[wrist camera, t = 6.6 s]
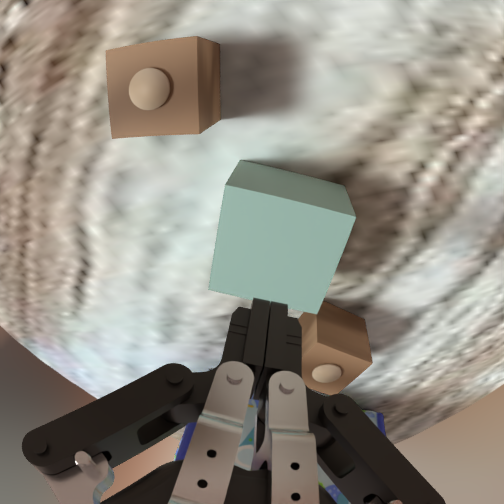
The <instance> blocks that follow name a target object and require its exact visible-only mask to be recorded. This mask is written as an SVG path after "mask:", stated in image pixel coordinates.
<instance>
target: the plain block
mask: <svg viewBox="0 0 504 504" xmlns="http://www.w3.org/2000/svg"><path fill="white" fill-rule="evenodd" d="M355 219H356V215H355V212H354V210H353V207H352V204H351V202H350V199H349V196H348V194H347V191H346V189H345V186H343V185H340V184H336V183H333V182H329V181H325V180H322V179H318V178H314V177H310V176H306V175H302V174H298V173H294V172H290V171H286V170H282V169H278V168H274V167H269V166H265V165H261V164H256V163H252V162H247V161H243V160H240V161H239V163H238V164H237V166H236V168H235V169H234V171H233V173H232V174H231V176H230V178H229V179H228V181H227V183H226V184H225V189H224V195H223V200H222V206H221V212H220V218H219V224H218V230H217V237H216V243H215V249H214V256H213V262H212V269H211V275H210V282H209V289H208V290H212V291H216V292H220V293H224V294H228V295H232V296H237V297H241V298H245V299H249V300H253V297H254V298H259V299H264V300H269V301H270V302H271V301H274V302H279V303H284V304H288V308H289V309H294V310H299V311H303V312H308V313H313V314H317V313H318V311H319V309H320V306H321V304H322V302H323V299H324V297H325V295H326V292H327V290H328V287H329V285H330V283H331V280H332V278H333V275H334V273H335V271H336V268H337V266H338V263H339V261H340V258H341V256H342V253H343V250H344V248H345V245H346V243H347V240H348V238H349V235H350V232H351V230H352V227H353V224H354V222H355Z"/></svg>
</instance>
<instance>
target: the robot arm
mask: <svg viewBox="0 0 504 504" xmlns="http://www.w3.org/2000/svg"><path fill="white" fill-rule="evenodd" d="M253 393H254V394H253ZM252 395H253V399H254V400H259V403H258V410H257V412H256V415H255V428H254V452H253V460H252V464H251V470H250V471H249V470H245V469H243V468H240V467H238V466H235V465H234V462H235V459H236V455H237V451H238V447H239V443H240V439H241V435H242V431H243V423H244V419H245V415H246V411H247V407H248V403H249V399H251V398H252ZM194 422H197V424H196V427H195V430H194V432H193V435H192V438H191V441H190V444H189V447H188V450H187V452H186V455H185V458H184V459H182V460H176V461H172V462H169V463H166V464H164V465H161V466H159V467H158V468H156V469H155V470H153V471H152V472H150V473H149V474H147V475H146V476H144V477H142V478H141V479H139V480H138V481H136V482H134V483H133V484H131V485H130V486H128V487H126V488H125V489H123V490H121V491H120V492H118V493H116V494H115V495H113V496H111V497H109V498H108V499H106V500H104V501H102V502H101V503H100V499H101V496H102V494H103V493H104V492H105V491H106V490H107V489H108V488H110V487H111V486H112V484H113V482H114V472H113V469H112V468H114V467H116V466H118V465H120V464H121V463H123V462H125V461H127V460H128V459H130V458H132V457H134V456H136V455H138V454H139V453H141V452H143V451H144V450H146V449H148V448H150V447H151V446H153V445H155V444H156V443H158V442H160V441H161V440H163V439H165V438H166V437H168V436H170V435H171V434H173V433H175V432H176V431H178V430H179V429H181V428H183V427H184V426H186V425H187V424H188V423H194ZM22 451H23V454H24V456H25V457H26V459H27V460H28V461H29V462H30V463H31V464H33V465H34V467H35V468H36V469H37V470H38V471H39V472H40V473H41V474H43V475H44V477H45V479H46V480H47V482H48V484H49V486H50V488H51V489H52V491H53V493H54V494H55V496H56V498H57V499H58V501H59V502H60V504H337V503H336V502H335V500H334V499H333V498H332V497H331V495H330V494H329V493H328V492H327V491H326V490H325V489H324V488H323V487H322V486H321V485H319V484H318V469H317V464H318V465H319V466H320V467H321V469H322V470H323V471H324V472H325V473H326V475H327V476H328V477H329V478H330V479H331V481H332V482H333V483H334V484H335V485H336V487H337V488H338V489H339V490H340V491H341V493H342V494H343V495H344V496H345V497H346V498H347V500H348V501H349V502H350V503H351V504H446V503H445V501H444V499H443V498H442V497H441V495H439V493H438V492H437V491H436V490H435V489H434V488H433V487H432V486H431V485H430V484H429V483H428V482H427V481H426V479H425V478H424V477H423V476H422V475H421V474H420V473H419V472H418V471H417V470H416V469H415V468H414V467H413V466H412V464H411V463H410V462H409V461H408V460H407V459H406V458H405V457H404V456H403V455H402V454H401V453H400V452H399V450H398V449H397V448H396V447H395V446H394V445H393V444H392V443H391V442H390V440H389V439H388V438H387V437H386V436H385V435H384V434H383V433H382V432H381V431H380V430H379V428H378V427H377V426H376V425H375V424H374V423H373V422H372V421H371V420H370V418H369V417H368V416H367V415H366V414H365V413H364V412H363V411H362V410H361V408H360V407H359V406H358V405H357V404H356V403H355V402H354V401H353V400H352V399H351V398H350V397H348V396H346V395H343V394H333V395H331V396H329V397H328V398H327V397H325V396H322V395H320V394H318V393H316V392H314V391H312V390H311V389H309V388H308V387H307V386H306V385H305V383H304V381H303V379H302V327H301V325H300V323H299V321H298V319H297V318H293V317H288V304H284V303H279V302H274V301H271V302H270V301H269V300H264V299H259V298H254V297H253V301H252V305H251V309H248V308H243V307H238V308H237V309H236V310H235V311H234V313H233V314H232V317H231V321H230V326H229V330H228V334H227V338H226V343H225V347H224V351H223V355H222V359H221V362H220V364H219V365H218V366H217V367H216V368H214V369H213V370H210V371H207V372H194V373H192V372H191V370H190V369H189V368H187V367H186V366H184V365H181V364H177V363H171V364H166V365H164V366H162V367H160V368H158V369H156V370H154V371H153V372H151V373H149V374H147V375H145V376H143V377H141V378H139V379H137V380H135V381H133V382H131V383H129V384H128V385H126V386H124V387H122V388H120V389H118V390H116V391H114V392H112V393H110V394H108V395H106V396H104V397H102V398H100V399H98V400H96V401H94V402H91V403H89V404H88V405H86V406H83V407H81V408H79V409H77V410H75V411H73V412H71V413H69V414H66V415H64V416H62V417H60V418H58V419H56V420H54V421H51V422H49V423H47V424H45V425H43V426H40V427H38V428H36V429H34V430H32V431H30V432H29V433H27V434H26V435H25V437H24V439H23V442H22Z"/></svg>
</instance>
